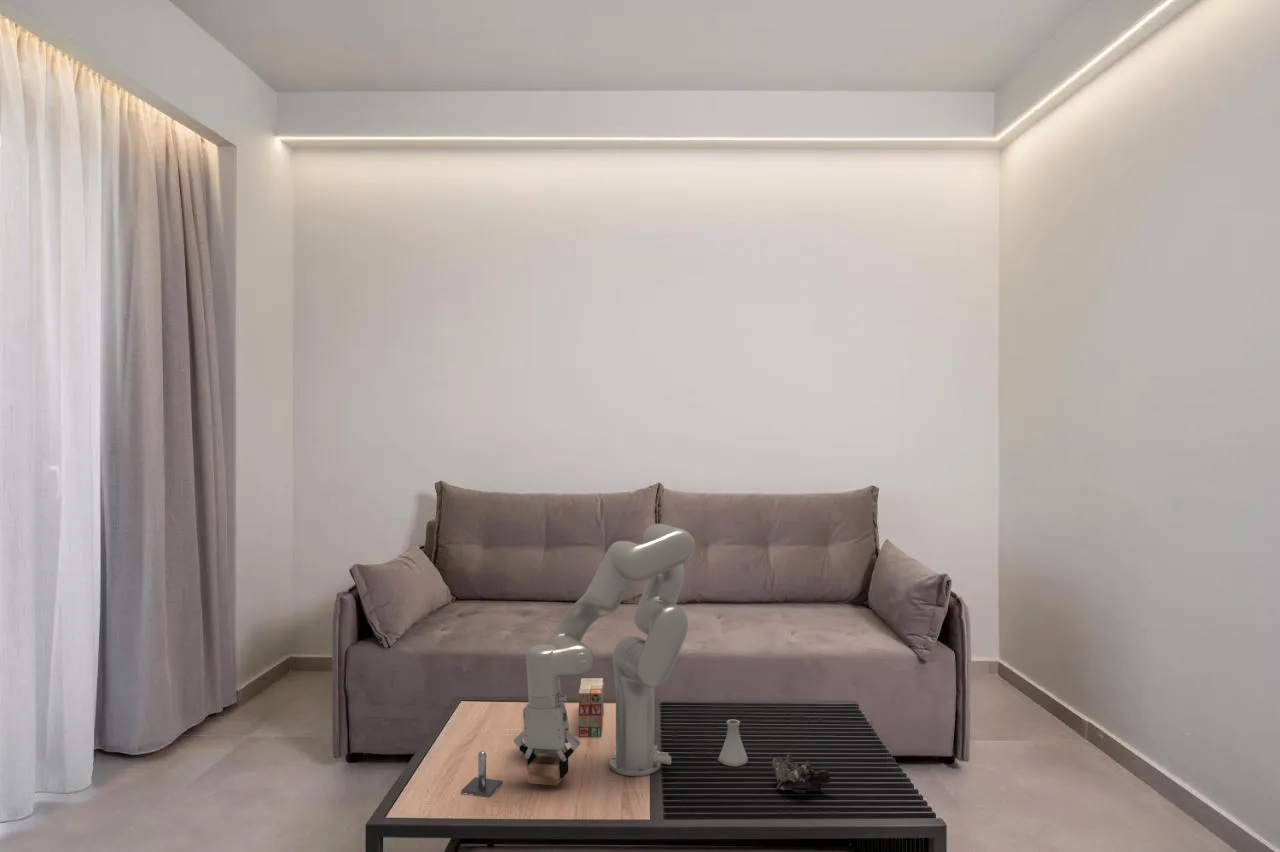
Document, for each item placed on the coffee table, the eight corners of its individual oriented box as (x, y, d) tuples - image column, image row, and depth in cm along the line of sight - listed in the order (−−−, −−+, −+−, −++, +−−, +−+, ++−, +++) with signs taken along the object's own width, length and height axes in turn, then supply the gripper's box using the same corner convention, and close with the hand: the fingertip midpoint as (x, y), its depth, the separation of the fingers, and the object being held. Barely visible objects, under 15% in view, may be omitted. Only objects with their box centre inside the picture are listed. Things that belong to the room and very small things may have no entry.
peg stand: (502, 783, 197) (502, 746, 197) (489, 797, 190) (489, 758, 190) (474, 780, 199) (474, 743, 198) (461, 793, 192) (461, 755, 192)
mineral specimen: (846, 772, 192) (819, 735, 192) (811, 812, 185) (784, 774, 186) (810, 769, 205) (786, 735, 205) (776, 806, 199) (751, 771, 199)
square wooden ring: (567, 771, 199) (566, 755, 199) (557, 785, 192) (556, 768, 192) (539, 769, 201) (538, 753, 201) (528, 783, 194) (527, 766, 194)
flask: (753, 761, 210) (753, 721, 210) (736, 770, 205) (736, 729, 205) (730, 753, 215) (730, 714, 215) (712, 761, 210) (712, 721, 210)
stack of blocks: (582, 709, 246) (582, 667, 246) (603, 709, 246) (603, 667, 246) (578, 738, 225) (578, 692, 225) (601, 737, 225) (602, 692, 225)
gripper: (585, 695, 197) (588, 769, 198) (516, 691, 202) (519, 764, 202) (574, 707, 190) (578, 784, 191) (503, 703, 194) (507, 779, 195)
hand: (548, 773), depth 196 cm, fingers closed on square wooden ring, 7 cm apart
